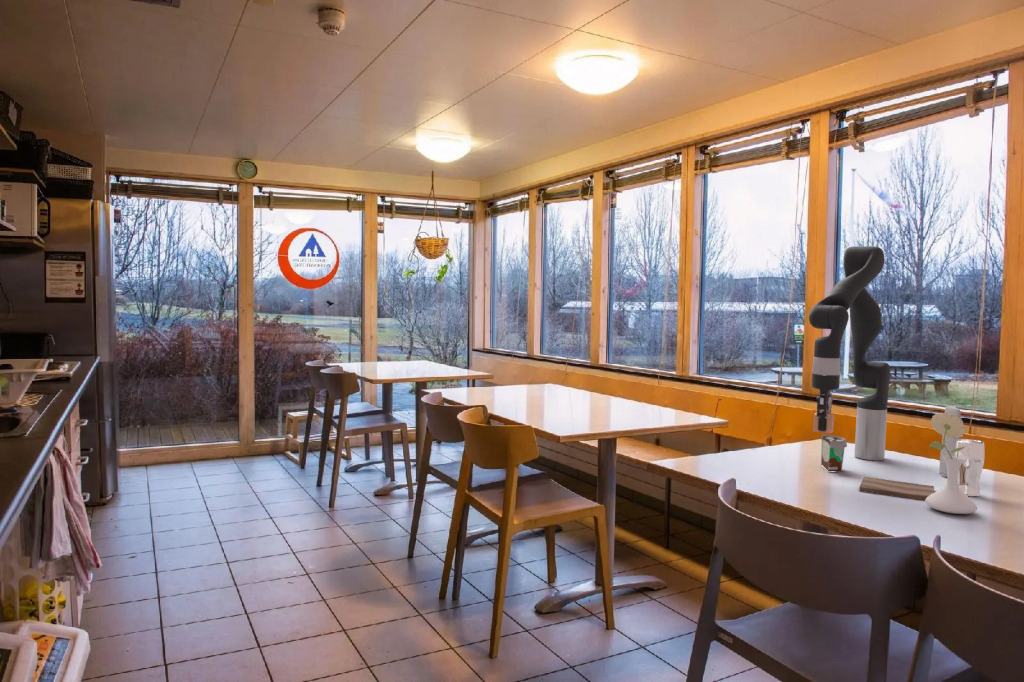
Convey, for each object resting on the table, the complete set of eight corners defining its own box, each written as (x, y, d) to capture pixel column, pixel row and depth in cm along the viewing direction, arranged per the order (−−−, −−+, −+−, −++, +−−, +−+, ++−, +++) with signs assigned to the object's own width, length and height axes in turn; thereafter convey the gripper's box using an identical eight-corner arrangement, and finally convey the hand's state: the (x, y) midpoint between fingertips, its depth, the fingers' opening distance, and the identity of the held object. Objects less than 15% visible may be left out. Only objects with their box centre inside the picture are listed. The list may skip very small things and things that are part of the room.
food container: (850, 474, 216) (852, 442, 215) (829, 473, 217) (830, 441, 216) (840, 465, 228) (841, 435, 227) (820, 464, 229) (821, 434, 228)
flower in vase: (988, 516, 175) (994, 417, 174) (952, 519, 172) (959, 418, 170) (942, 501, 187) (948, 409, 186) (908, 504, 184) (914, 410, 183)
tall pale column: (964, 481, 210) (969, 409, 209) (950, 480, 211) (954, 408, 210) (947, 472, 221) (951, 403, 220) (933, 472, 221) (937, 403, 220)
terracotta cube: (815, 428, 212) (816, 412, 211) (833, 430, 209) (834, 414, 209) (812, 431, 207) (813, 414, 207) (831, 433, 205) (832, 416, 204)
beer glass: (946, 491, 198) (949, 439, 197) (963, 489, 200) (966, 438, 200) (971, 498, 191) (974, 444, 190) (987, 496, 194) (991, 442, 193)
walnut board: (863, 480, 208) (863, 476, 208) (933, 490, 199) (934, 486, 199) (859, 491, 196) (859, 486, 196) (933, 501, 187) (934, 497, 187)
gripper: (815, 369, 215) (813, 424, 216) (808, 373, 203) (806, 431, 204) (842, 371, 211) (839, 427, 212) (837, 375, 199) (834, 434, 200)
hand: (823, 429), depth 208 cm, fingers closed on terracotta cube, 5 cm apart
